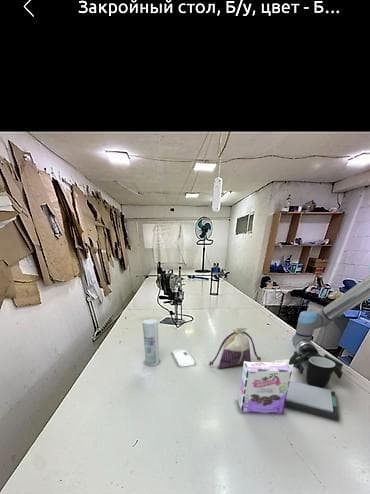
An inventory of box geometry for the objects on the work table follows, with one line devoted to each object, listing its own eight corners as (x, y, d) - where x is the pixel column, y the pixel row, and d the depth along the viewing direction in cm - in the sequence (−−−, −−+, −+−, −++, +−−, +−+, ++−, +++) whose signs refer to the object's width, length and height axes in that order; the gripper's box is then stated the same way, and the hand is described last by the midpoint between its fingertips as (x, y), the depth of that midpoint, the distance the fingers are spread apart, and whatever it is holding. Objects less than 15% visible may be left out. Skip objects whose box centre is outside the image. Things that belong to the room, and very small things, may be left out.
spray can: (142, 364, 108) (139, 322, 100) (149, 358, 114) (147, 318, 105) (155, 366, 106) (153, 324, 98) (161, 360, 111) (160, 320, 103)
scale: (333, 396, 87) (335, 389, 86) (336, 421, 74) (339, 414, 73) (287, 385, 93) (288, 379, 92) (282, 406, 81) (284, 399, 80)
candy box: (240, 413, 78) (246, 369, 71) (237, 402, 83) (242, 360, 76) (283, 414, 77) (293, 370, 70) (277, 403, 83) (286, 361, 76)
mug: (330, 392, 89) (337, 369, 85) (304, 387, 92) (310, 364, 87) (325, 377, 99) (331, 355, 95) (302, 373, 102) (307, 352, 98)
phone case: (172, 353, 119) (179, 366, 106) (172, 350, 119) (179, 364, 105) (186, 351, 121) (195, 365, 108) (186, 349, 120) (195, 362, 107)
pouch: (214, 374, 100) (217, 332, 92) (206, 365, 107) (208, 326, 99) (262, 365, 108) (269, 325, 100) (252, 357, 115) (257, 320, 107)
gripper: (334, 360, 108) (354, 385, 89) (277, 355, 113) (284, 378, 94) (338, 345, 105) (360, 368, 86) (279, 341, 110) (288, 361, 91)
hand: (321, 373), depth 90 cm, fingers open, 13 cm apart
